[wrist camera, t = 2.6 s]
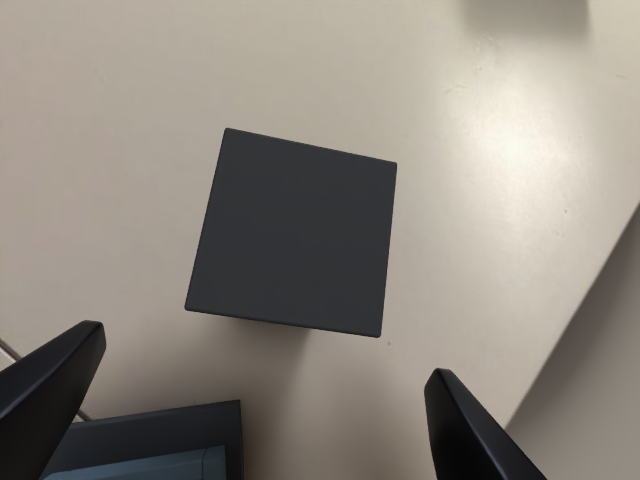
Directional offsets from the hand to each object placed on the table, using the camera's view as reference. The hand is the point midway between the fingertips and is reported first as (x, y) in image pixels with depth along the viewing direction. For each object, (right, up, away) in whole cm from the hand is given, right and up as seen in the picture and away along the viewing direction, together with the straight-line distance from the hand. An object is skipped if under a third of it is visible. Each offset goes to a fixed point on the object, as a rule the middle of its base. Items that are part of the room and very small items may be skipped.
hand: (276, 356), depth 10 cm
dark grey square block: (-1, +1, +10) cm, 11 cm away
